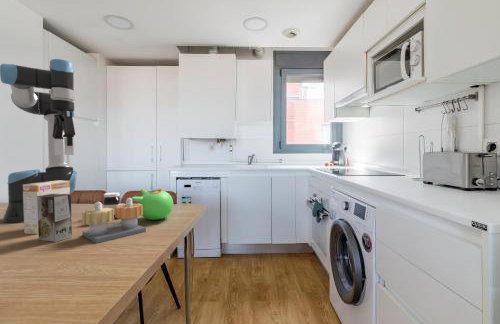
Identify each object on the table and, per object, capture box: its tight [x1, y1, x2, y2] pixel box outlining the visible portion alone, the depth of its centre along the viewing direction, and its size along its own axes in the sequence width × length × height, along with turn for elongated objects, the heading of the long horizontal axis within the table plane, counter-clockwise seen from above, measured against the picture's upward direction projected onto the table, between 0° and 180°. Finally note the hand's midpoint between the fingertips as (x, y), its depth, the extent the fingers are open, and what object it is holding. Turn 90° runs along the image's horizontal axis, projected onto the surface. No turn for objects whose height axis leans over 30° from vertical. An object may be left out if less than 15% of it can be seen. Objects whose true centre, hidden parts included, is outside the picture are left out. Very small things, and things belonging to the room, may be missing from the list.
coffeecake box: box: [23, 180, 71, 235], centre depth 108 cm, size 15×7×20 cm, turn 168°
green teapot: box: [130, 188, 174, 221], centre depth 124 cm, size 18×17×15 cm
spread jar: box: [102, 192, 125, 219], centre depth 129 cm, size 12×11×12 cm
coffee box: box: [37, 193, 73, 243], centre depth 96 cm, size 9×6×16 cm
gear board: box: [81, 197, 147, 244], centre depth 101 cm, size 14×20×13 cm
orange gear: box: [114, 202, 143, 219], centre depth 106 cm, size 10×10×4 cm
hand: (63, 154), depth 103 cm, fingers open, 13 cm apart
